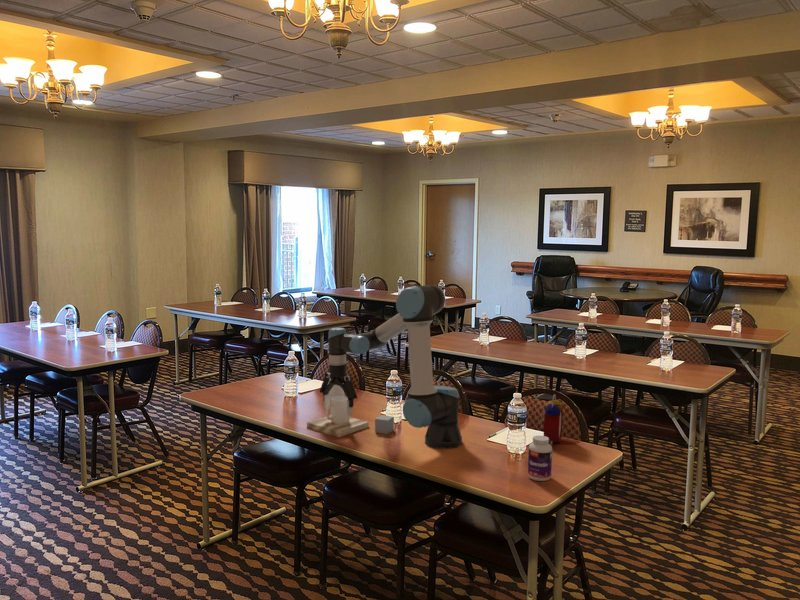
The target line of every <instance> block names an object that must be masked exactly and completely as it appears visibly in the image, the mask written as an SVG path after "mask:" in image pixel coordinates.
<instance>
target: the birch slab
mask: <svg viewBox="0 0 800 600" xmlns="http://www.w3.org/2000/svg"><path fill="white" fill-rule="evenodd" d="M329 416H330V417H331V414H330V415H329ZM369 423H370V422H369V421H366V420H364V419H363V420H362V419H358V418H355V417H351V416H350V420H349V422H348V423H345V424H335V423H332V422H331V420H328V419H327V417H326V416H324V417H320V418H317V419H314V420H311V421H310V420H309V421H307V422H306V428H308V429H310V430H313V431H318V432H320V433H323V434H328V435H331V436H334V437H337V438H341V437H344V436H347V435H350V434H352V433H355V432H358V431H362V430H364V429H367V428H369Z"/></svg>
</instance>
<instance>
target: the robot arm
mask: <svg viewBox="0 0 800 600" xmlns="http://www.w3.org/2000/svg"><path fill="white" fill-rule="evenodd" d="M445 304H446V296H445V293H444V291H443V290H442V289H441V288H440V287H438V286H437V285H433V284H427V285H417V286H416V285H413V286H409V287H406V288H404V289H402V290H401V291H400V293H399V294H398V295H397V297H396V302H395V308H396V311H397V314H395V315H393V316H391V318H389V319H388V320H386V321H384V322H383V323H382V324H380V325H379V326H377V327H376V328H374V329H373V330H372V331H367V332H364V333H359V334H348V333H347V330H346V328H344V327H332V328H329V330H328V337H327V340H328V363H329V365H328V372H325V373H324V378H323V380H322V383H321V386H320V389H319V393H322V395H323V396H322V397H323V402H324V403H323V404H324V405H323V407H324V410H325V411H326V408H327V406H328V405H329V404H331V400H330V394H328V393H329V391H330V390H331V389H332V387H333V386H334V385H338V386H340V387H342V389H343V391H344V395H346V397H347V398H348V400H347V415H353V411H354V410H353V408H354V400H355V399H358V395H357V392H356V390H355V387H354V383H353V381H352V376H350V375H349V376H346V373H347V364H346V363H347V353H351V354H356V355H363V354H366V353H367V352H368V351H369V350H374V349H380V348H382V347H385V346H386V345H388V342H389V341H390V340H392V339H394V338H395V337H397V336H399V335H400V334H401V333H403V332H405V331H406V330H407V341H408V356H409V360H408V361H409V374H410V388H409V390H408V391H407V400H405V401H404V403H403V405H402V415H403V417H404V419H405V421H406V422H408V424H409V425H411V426H412V427H413V428H417V429H422V428H425V427H427V430H426V433H425V436H424V443H425V444H426V445H427V446H430V447H432V448H435V449H453V448H458V447H460V446H461V445H462V444H463V436H462V434H461V430H460V427H459V399H460V395H459V389H457V388H456V387H452V386H445V385H434V380H433V379H434V376H433V375H434V374H433V359H432V344H431V324H432V322H434V315H436V314H438V313H440V312H441V311H443V309H444V306H445ZM330 378H331V380H330ZM329 380H330V382H329ZM328 383H329V384H328ZM343 383H344V384H343Z"/></svg>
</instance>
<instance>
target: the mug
mask: <svg viewBox="0 0 800 600" xmlns="http://www.w3.org/2000/svg"><path fill="white" fill-rule="evenodd" d="M347 400H348V398H347V396H345V395H344V396H336V397H332V398H331V400H330V404H329V405H328V406H327V408H326V410H325V417H327V419H328V420H331V422H332V423H335V424H345V423H348V422H349V420H350V417H351V416H350V415H351V414H350V415H347ZM329 413H330V415H331V417H330V416H329Z"/></svg>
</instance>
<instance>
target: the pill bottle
mask: <svg viewBox="0 0 800 600" xmlns="http://www.w3.org/2000/svg"><path fill="white" fill-rule="evenodd" d="M552 460H553V447H552V446H551V444H550V441H549V438H548V437H546V436H544V435H533V436H532V442H531V443H529V446H528V461H527V475H528V478H530V479H531V480H533V481H535V482H536V481H537V482H545V481H546V482H547V481H549V480H550V479H551V477H552V463H553V462H552Z"/></svg>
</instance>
